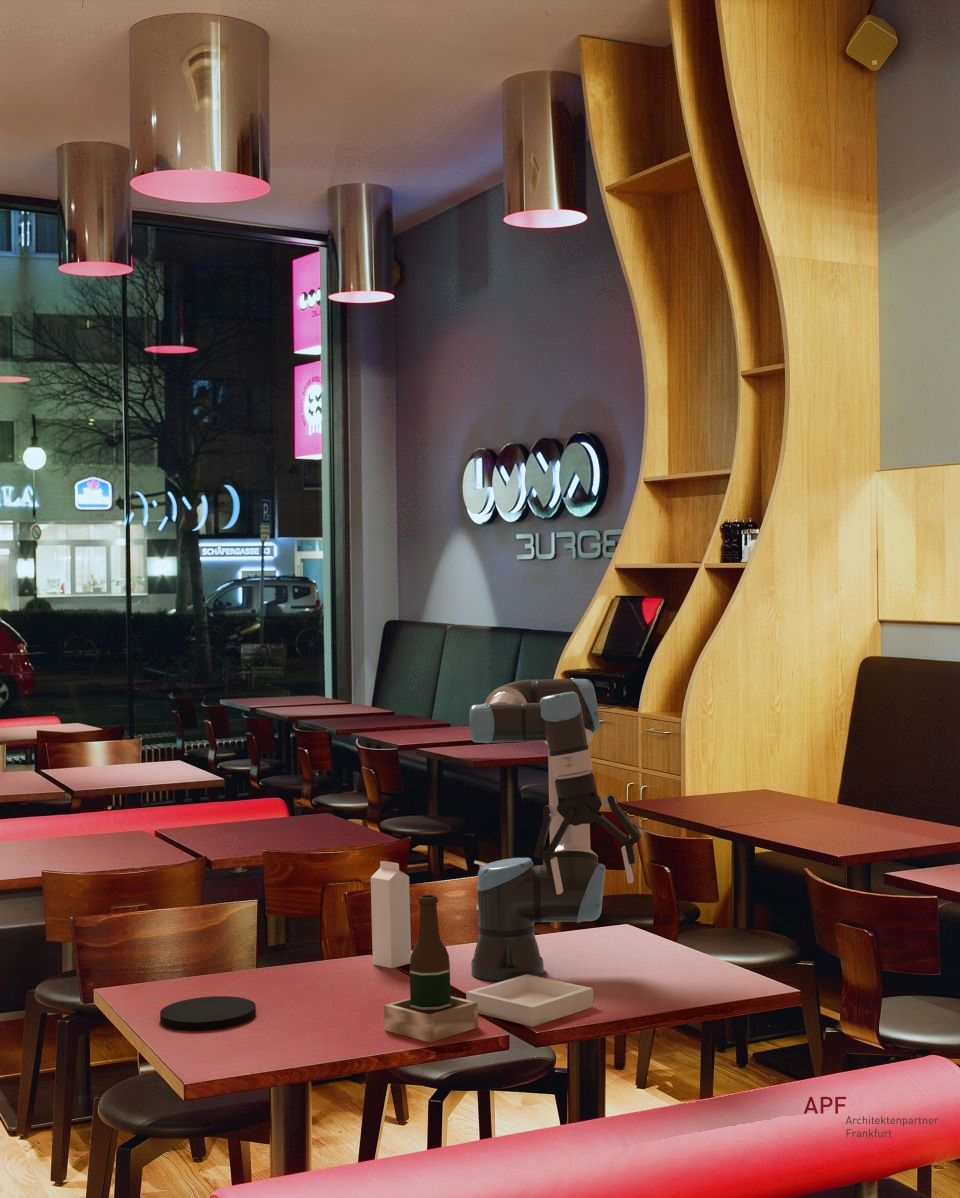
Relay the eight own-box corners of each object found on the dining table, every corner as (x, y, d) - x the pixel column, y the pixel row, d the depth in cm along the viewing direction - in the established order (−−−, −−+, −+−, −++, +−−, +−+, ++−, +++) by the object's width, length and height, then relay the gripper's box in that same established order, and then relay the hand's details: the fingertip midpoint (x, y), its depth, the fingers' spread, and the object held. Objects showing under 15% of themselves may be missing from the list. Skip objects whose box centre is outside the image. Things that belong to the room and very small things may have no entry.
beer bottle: (402, 1033, 253) (399, 899, 253) (420, 1021, 260) (417, 891, 260) (442, 1036, 250) (438, 901, 250) (459, 1024, 257) (456, 893, 257)
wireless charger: (162, 1037, 255) (162, 1026, 255) (158, 1011, 272) (157, 1001, 272) (261, 1027, 260) (260, 1016, 260) (250, 1002, 277) (250, 992, 277)
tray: (466, 1010, 266) (466, 991, 266) (527, 991, 278) (527, 974, 278) (532, 1026, 254) (532, 1007, 254) (593, 1006, 266) (592, 988, 266)
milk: (392, 959, 308) (390, 858, 309) (411, 963, 304) (409, 861, 305) (372, 964, 304) (369, 862, 304) (391, 968, 300) (388, 865, 300)
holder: (384, 1030, 255) (384, 1005, 255) (432, 1015, 263) (432, 991, 263) (430, 1042, 246) (429, 1016, 246) (478, 1027, 255) (477, 1002, 255)
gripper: (505, 788, 262) (527, 901, 261) (636, 765, 257) (658, 881, 255) (513, 783, 270) (534, 893, 268) (641, 761, 264) (663, 873, 263)
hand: (595, 887), depth 262 cm, fingers open, 13 cm apart
